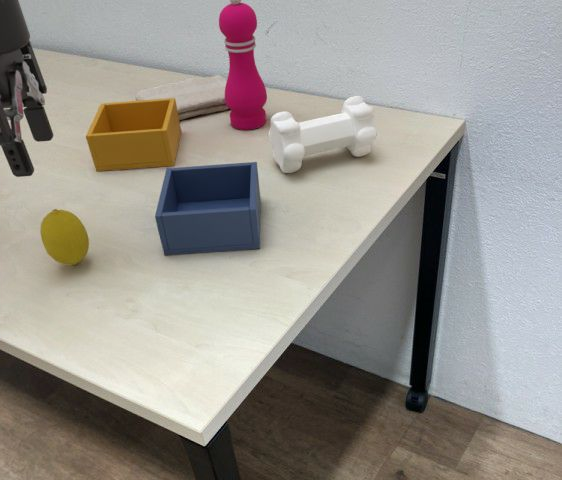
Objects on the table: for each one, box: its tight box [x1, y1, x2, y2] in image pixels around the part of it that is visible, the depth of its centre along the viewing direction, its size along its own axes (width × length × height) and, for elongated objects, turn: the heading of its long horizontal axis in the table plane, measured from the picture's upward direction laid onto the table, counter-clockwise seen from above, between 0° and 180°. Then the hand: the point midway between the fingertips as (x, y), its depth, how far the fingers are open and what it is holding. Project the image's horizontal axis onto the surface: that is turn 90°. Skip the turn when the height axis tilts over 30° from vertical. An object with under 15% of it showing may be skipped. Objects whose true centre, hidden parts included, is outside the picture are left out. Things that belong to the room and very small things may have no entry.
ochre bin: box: [85, 98, 182, 172], centre depth 100 cm, size 13×13×6 cm
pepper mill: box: [218, 0, 268, 131], centre depth 100 cm, size 7×7×20 cm
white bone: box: [268, 95, 378, 174], centre depth 92 cm, size 15×9×8 cm, turn 110°
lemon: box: [39, 208, 90, 266], centre depth 77 cm, size 6×6×8 cm
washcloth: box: [135, 74, 230, 121], centre depth 112 cm, size 12×18×3 cm, turn 113°
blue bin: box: [154, 161, 262, 256], centre depth 82 cm, size 13×13×6 cm
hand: (35, 156), depth 69 cm, fingers open, 8 cm apart
